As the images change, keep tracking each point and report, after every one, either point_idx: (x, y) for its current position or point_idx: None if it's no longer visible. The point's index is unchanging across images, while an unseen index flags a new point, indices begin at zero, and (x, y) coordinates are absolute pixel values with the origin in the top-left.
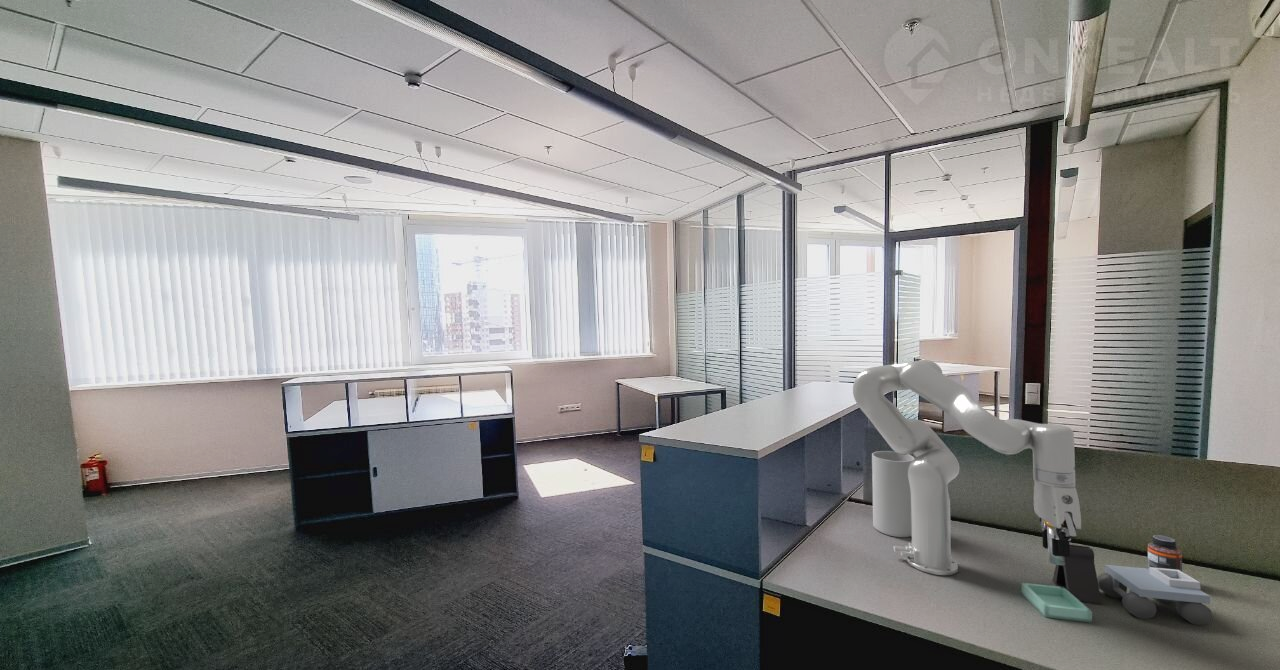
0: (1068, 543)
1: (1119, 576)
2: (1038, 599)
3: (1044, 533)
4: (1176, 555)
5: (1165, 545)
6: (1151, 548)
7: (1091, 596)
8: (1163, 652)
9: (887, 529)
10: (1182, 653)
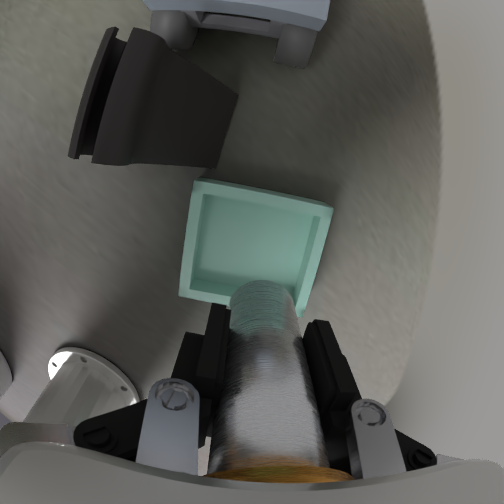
0: (347, 379)
1: (217, 3)
2: None
3: (208, 436)
4: None
5: None
6: None
7: (224, 112)
8: (425, 142)
9: (7, 388)
10: (426, 105)
